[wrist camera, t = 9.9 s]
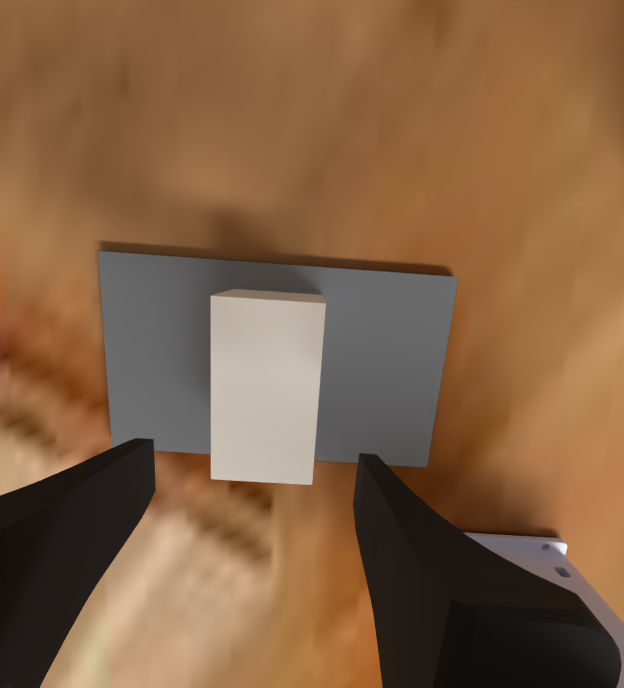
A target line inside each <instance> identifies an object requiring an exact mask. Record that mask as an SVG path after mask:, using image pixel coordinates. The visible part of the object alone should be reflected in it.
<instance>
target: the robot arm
mask: <svg viewBox="0 0 624 688" xmlns="http://www.w3.org/2000/svg"><path fill="white" fill-rule="evenodd" d="M155 491H156V490H155V462H154V439H145V438H135V439H132V440H129V441H127V442H124V443H122V444H120V445H118V446H116V447H113V448H111V449H109V450H107V451H105V452H103V453H101V454H99V455H96V456H94V457H92V458H90V459H88V460H86V461H84V462H82V463H79V464H77V465H75V466H73V467H71V468H68V469H66V470H64V471H61V472H59V473H57V474H54V475H52V476H50V477H48V478H45V479H43V480H41V481H38V482H36V483H33V484H30V485H28V486H25V487H23V488H20V489H17V490H14V491H12V492H9V493H6V494H3V495H1V496H0V688H40V686H41V684H42V682H43V680H44V678H45V676H46V674H47V672H48V670H49V668H50V666H51V665H52V663H53V661H54V659H55V657H56V655H57V653H58V651H59V650H60V648H61V646H62V644H63V642H64V640H65V638H66V636H67V635H68V633H69V631H70V629H71V628H72V626H73V624H74V622H75V620H76V619H77V617H78V615H79V613H80V612H81V610H82V608H83V606H84V604H85V603H86V601H87V599H88V597H89V596H90V594H91V593H92V591H93V590H94V588H95V586H96V585H97V583H98V582H99V580H100V579H101V577H102V576H103V574H104V573H105V572H106V570H107V569H108V567H109V566H110V564H111V563H112V561H113V560H114V558H115V557H116V555H117V554H118V553H119V551H120V550H121V548H122V547H123V545H124V544H125V542H126V541H127V539H128V538H129V536H130V535H131V533H132V532H133V530H134V529H135V527H136V526H137V524H138V523H139V521H140V520H141V518H142V516H143V515H144V513H145V511H146V509H147V507H148V505H149V503H150V501H151V499H152V497H153V495H154V493H155ZM353 507H354V518H355V527H356V534H357V539H358V544H359V548H360V553H361V557H362V562H363V566H364V571H365V575H366V580H367V584H368V589H369V594H370V598H371V603H372V609H373V614H374V621H375V629H376V636H377V644H378V652H379V660H380V668H381V677H382V685H383V688H624V623H623V622H622V621H621V620H620V618H619V617H618V616H617V615H616V614H615V613H614V612H613V610H612V609H611V608H610V607H609V606H608V605H607V604H606V602H605V601H604V600H603V599H602V598H601V597H600V595H599V594H598V593H597V592H596V591H595V590H594V589H593V587H592V586H591V585H590V584H589V583H588V582H587V581H586V579H585V578H584V577H583V576H582V575H581V574H580V573H579V571H578V570H577V569H576V568H575V567H574V566H573V565H572V563H571V562H570V561H569V560H568V559H567V558H566V557H565V553H566V550H567V545H566V543H565V542H564V541H563V540H562V539H560V538H548V537H531V536H514V535H498V534H481V533H464V532H462V531H460V530H459V529H457V528H456V527H454V526H453V525H452V524H450V523H449V522H448V521H447V520H445V519H444V518H443V517H441V516H440V515H439V514H437V513H436V512H435V511H434V510H433V509H431V508H430V507H429V506H428V505H427V504H426V503H424V502H423V501H422V500H421V499H420V498H419V497H418V496H417V495H416V494H415V493H413V492H412V491H411V490H410V489H409V488H408V487H407V486H406V485H405V484H404V483H403V482H402V481H401V480H400V479H399V478H398V477H397V476H396V475H395V473H394V472H393V471H392V470H391V469H390V468H389V467H388V466H387V465H386V464H385V463H384V462H383V461H382V459H381V458H380V457H379V456H378V455H377V454H366V453H359V459H358V467H357V476H356V484H355V493H354V501H353Z"/></svg>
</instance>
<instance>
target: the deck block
mask: <svg viewBox="0 0 624 688" xmlns="http://www.w3.org/2000/svg"><path fill="white" fill-rule="evenodd" d="M325 309H326V302H325V300H324V297H323V295H319V294H304V293H289V292H274V291H259V290H245V289H232V290H228V291H225V292H222V293H218V294H215V295H211V479H218V480H235V481H252V482H270V483H287V484H304V485H312V480H313V467H314V454H315V440H316V427H317V414H318V401H319V388H320V375H321V362H322V348H323V335H324V322H325Z"/></svg>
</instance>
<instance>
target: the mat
mask: <svg viewBox="0 0 624 688" xmlns="http://www.w3.org/2000/svg"><path fill="white" fill-rule="evenodd" d="M98 262H99V276H100V289H101V303H102V317H103V331H104V345H105V358H106V372H107V386H108V400H109V414H110V428H111V441H112V448H113V447H116V446H118V445H120V444H122V443H124V442H127V441H129V440H132V439H135V438H145V439H154V451H169V452H185V453H201V454H211V295H215V294H218V293H222V292H225V291H228V290H232V289H245V290H259V291H274V292H289V293H304V294H319V295H323V297H324V300H325V302H326V309H325V322H324V335H323V348H322V362H321V375H320V388H319V401H318V414H317V427H316V440H315V454H314V461H329V462H345V463H358V459H359V453H366V454H377V455H378V456H379V457H380V458H381V459H382V461H383V462H384V463H385V464H386V465H393V466H408V467H424V468H427V463H428V457H429V451H430V445H431V439H432V433H433V427H434V421H435V415H436V409H437V403H438V397H439V392H440V386H441V380H442V374H443V368H444V362H445V356H446V350H447V344H448V338H449V332H450V326H451V320H452V314H453V308H454V302H455V296H456V290H457V284H458V278H459V277H452V276H438V275H424V274H411V273H397V272H383V271H369V270H355V269H341V268H328V267H314V266H300V265H286V264H272V263H258V262H245V261H231V260H217V259H203V258H189V257H176V256H162V255H148V254H134V253H120V252H106V251H98Z"/></svg>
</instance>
